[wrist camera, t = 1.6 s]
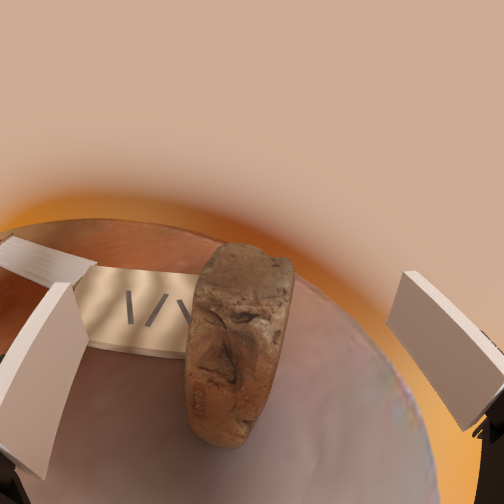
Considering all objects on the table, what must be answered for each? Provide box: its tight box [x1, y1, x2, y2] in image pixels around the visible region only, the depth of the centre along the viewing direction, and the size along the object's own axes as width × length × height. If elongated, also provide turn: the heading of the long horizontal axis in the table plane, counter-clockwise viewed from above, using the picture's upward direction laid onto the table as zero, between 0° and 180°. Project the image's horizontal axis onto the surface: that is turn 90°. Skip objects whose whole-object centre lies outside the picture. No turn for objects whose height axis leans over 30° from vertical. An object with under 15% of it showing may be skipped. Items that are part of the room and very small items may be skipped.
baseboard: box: [0, 233, 98, 290], centre depth 46 cm, size 31×3×12 cm
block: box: [184, 243, 295, 448], centre depth 25 cm, size 11×8×20 cm
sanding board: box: [74, 265, 200, 359], centre depth 42 cm, size 28×18×2 cm, turn 94°
